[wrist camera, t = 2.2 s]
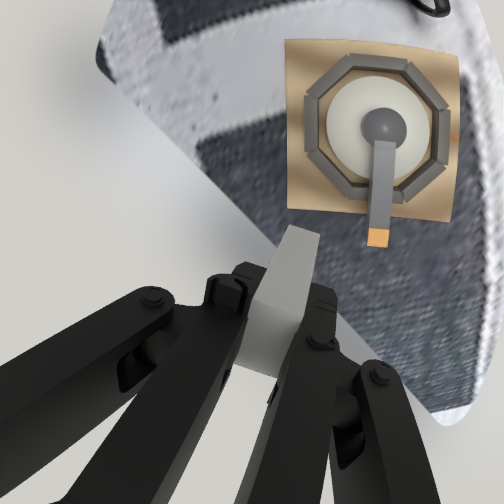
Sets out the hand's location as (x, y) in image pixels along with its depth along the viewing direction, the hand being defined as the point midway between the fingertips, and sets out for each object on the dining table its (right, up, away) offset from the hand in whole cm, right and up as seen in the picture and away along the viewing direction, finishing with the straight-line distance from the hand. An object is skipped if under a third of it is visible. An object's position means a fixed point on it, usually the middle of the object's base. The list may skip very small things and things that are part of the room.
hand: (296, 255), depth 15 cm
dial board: (+11, +13, +14) cm, 22 cm away
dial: (+10, +10, +13) cm, 19 cm away
